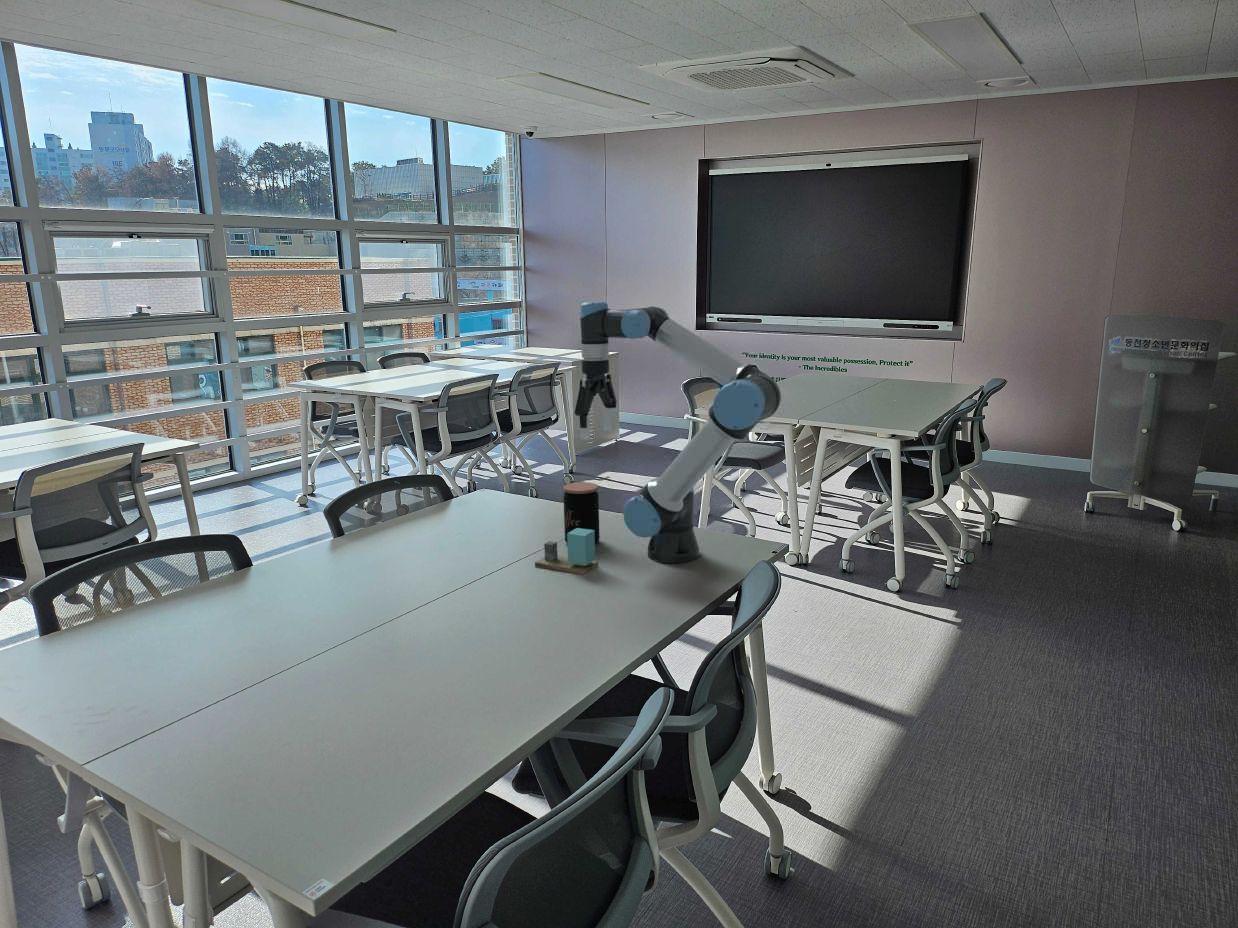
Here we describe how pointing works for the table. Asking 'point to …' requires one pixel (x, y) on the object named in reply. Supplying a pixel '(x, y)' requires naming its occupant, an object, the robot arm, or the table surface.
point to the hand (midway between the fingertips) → (597, 435)
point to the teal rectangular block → (581, 546)
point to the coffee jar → (581, 507)
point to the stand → (561, 561)
